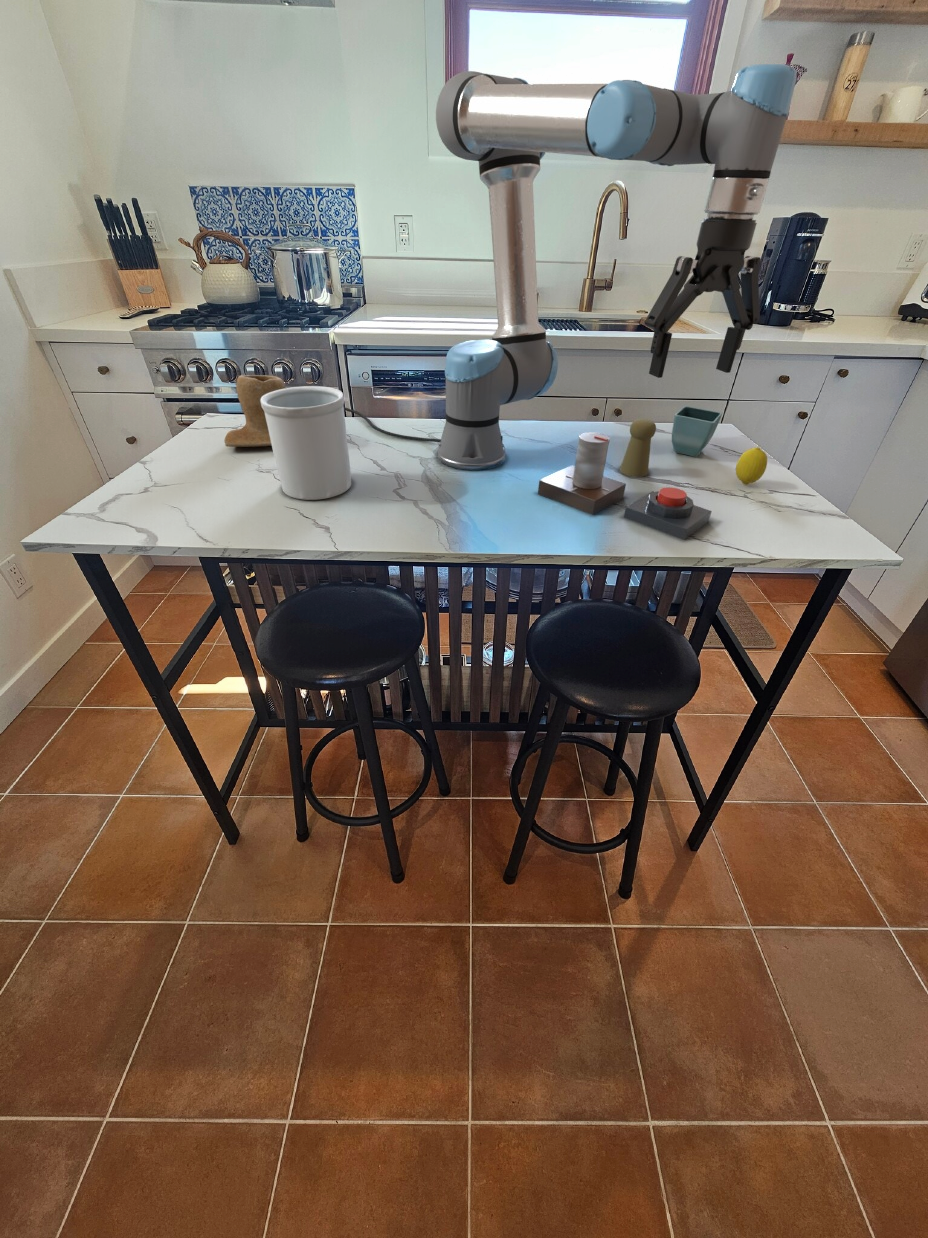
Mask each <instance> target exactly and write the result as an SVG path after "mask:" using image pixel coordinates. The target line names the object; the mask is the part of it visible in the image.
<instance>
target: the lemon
mask: <svg viewBox="0 0 928 1238" xmlns="http://www.w3.org/2000/svg"><path fill="white" fill-rule="evenodd" d="M767 467H768V455H767V454H766V453H765V450H763V449H761V448H760V446H756V447H752V448H749V449H747V450H746V451H744V452H743V453H742V454H741V455H740V457H739V459H738V460H737V463H736V466H735V475H736V478H737V479H738V481H740V482H741V483H742V484H743V485H744V486H746V485H748V484H752V483H755V482H757V481H759V480H760V479H761V478H762V477H763V476H764V475H765V472H766V470H767Z"/></svg>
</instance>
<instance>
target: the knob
mask: <svg viewBox="0 0 928 1238" xmlns="http://www.w3.org/2000/svg"><path fill="white" fill-rule="evenodd" d="M610 440H611V438H610V436H608V435H607V434H605V433H601V432H595V431H591V432H589V431H587V432H583V433H581V434H579V436H578V442H577V448H576V455H575V462H574V466H575V468H574V475H573V484H574V485H575V486H577V487H580V488H584V489H596V488H599V487H600V486H601V484H602V479H603V476H604V475H605V473H604V472H605V468H606V462H607V457H608V451H609V446H610Z"/></svg>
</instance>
